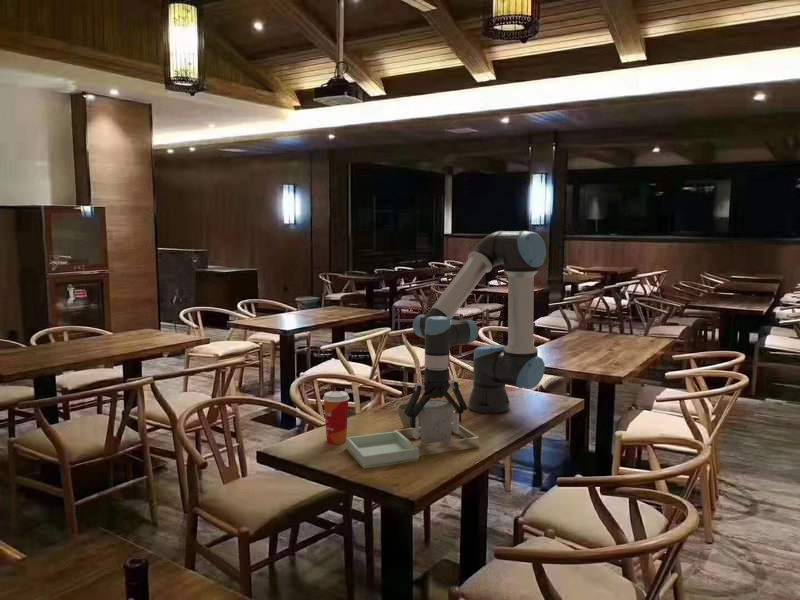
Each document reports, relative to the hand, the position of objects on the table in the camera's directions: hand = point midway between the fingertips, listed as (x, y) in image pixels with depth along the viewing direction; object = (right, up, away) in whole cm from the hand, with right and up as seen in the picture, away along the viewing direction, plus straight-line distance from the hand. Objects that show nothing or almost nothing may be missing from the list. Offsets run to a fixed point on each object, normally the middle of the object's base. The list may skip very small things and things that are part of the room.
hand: (435, 435), depth 194 cm
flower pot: (-7, -1, +15) cm, 16 cm away
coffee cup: (-31, -2, +2) cm, 31 cm away
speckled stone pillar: (0, -3, 0) cm, 3 cm away
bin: (-16, -4, -9) cm, 19 cm away
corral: (0, -3, 0) cm, 3 cm away
